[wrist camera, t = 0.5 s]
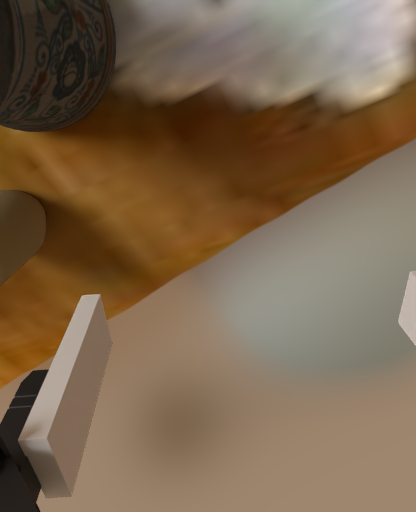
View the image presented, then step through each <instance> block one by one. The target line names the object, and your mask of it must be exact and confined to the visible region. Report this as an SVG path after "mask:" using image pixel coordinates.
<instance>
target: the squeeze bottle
mask: <svg viewBox="0 0 416 512" xmlns="http://www.w3.org/2000/svg"><path fill="white" fill-rule="evenodd" d="M45 234H46V216H45V212H44V209H43V207H42V206H41V204H40V203H39V201H38V200H37V199H35V198H34V197H33V196H31V195H30V194H28V193H25V192H22V191H19V190H8V191H0V286H1V285H2V284H3V283H4V282H5V281H6V280H7V279H8V278H9V277H10V276H12V275H13V274H14V273H15V272H16V271H17V270H18V269H19V268H20V267H21V266H22V265H24V264H25V263H26V262H27V261H28V260H29V259H30V258H31V257H32V256H33V255H34V254H36V252H37V251H38V250H39V249H40V248H41V247H42V245H43V243H44V239H45Z"/></svg>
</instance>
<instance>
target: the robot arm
mask: <svg viewBox="0 0 416 512" xmlns="http://www.w3.org/2000/svg"><path fill="white" fill-rule="evenodd" d="M398 323H399V324H400V326H401V327H402V328H403V330H404V331H405V332H406V334H407V335H408V336H409V338H410V339H411V340H412V342H413V343H414V344H415V346H416V271H410V275H409V278H408V282H407V287H406V291H405V295H404V299H403V303H402V307H401V311H400V316H399V320H398ZM111 347H112V340H111V336H110V332H109V328H108V324H107V320H106V315H105V311H104V307H103V303H102V299H101V295H100V294H93V295H82V297H81V299H80V301H79V303H78V306H77V308H76V310H75V312H74V315H73V317H72V319H71V321H70V324H69V326H68V328H67V330H66V333H65V335H64V337H63V339H62V342H61V344H60V346H59V348H58V351H57V353H56V355H55V357H54V360H53V362H52V364H51V367H50V369H49V370H37V371H32V372H31V373H30V374H29V375H28V376H27V377H26V378H25V379H24V380H23V381H22V382H21V384H20V386H19V389H18V390H17V392H16V394H15V398H14V399H13V400H12V402H11V404H10V406H9V409H8V410H7V412H6V414H5V416H4V418H3V420H2V422H1V424H0V512H40V510H39V508H38V506H37V504H36V501H37V498H38V495H39V492H40V489H42V491H43V493H44V495H45V497H46V498H57V497H70V496H72V493H73V490H74V485H75V482H76V478H77V474H78V471H79V467H80V463H81V459H82V456H83V452H84V448H85V444H86V441H87V437H88V433H89V429H90V426H91V422H92V418H93V414H94V411H95V406H96V403H97V399H98V396H99V392H100V388H101V384H102V381H103V377H104V373H105V369H106V366H107V362H108V358H109V354H110V351H111Z"/></svg>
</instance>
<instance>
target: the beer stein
mask: <svg viewBox="0 0 416 512" xmlns="http://www.w3.org/2000/svg"><path fill="white" fill-rule="evenodd" d="M115 55H116V38H115V29H114V22H113V18H112V13H111V10H110V7H109V4H108V1H107V0H0V125H2V126H4V127H8V128H12V129H15V130H20V131H28V132H42V131H52V130H57V129H60V128H64V127H67V126H69V125H71V124H73V123H75V122H77V121H79V120H81V119H82V118H84V117H85V116H86V115H87V114H88V113H89V112H90V111H91V110H92V109H93V108H94V107H95V106H96V105H97V104H98V102H99V101H100V100H101V98H102V96H103V95H104V93H105V91H106V89H107V87H108V84H109V82H110V79H111V77H112V73H113V69H114V64H115Z"/></svg>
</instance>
